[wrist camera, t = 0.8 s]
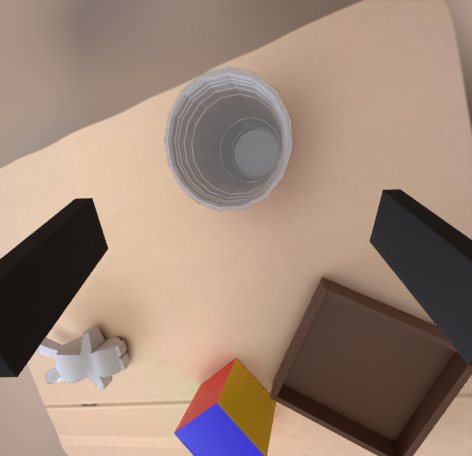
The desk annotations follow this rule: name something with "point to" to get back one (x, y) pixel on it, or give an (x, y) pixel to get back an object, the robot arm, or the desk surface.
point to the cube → (228, 416)
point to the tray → (369, 371)
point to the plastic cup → (228, 139)
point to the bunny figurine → (86, 358)
